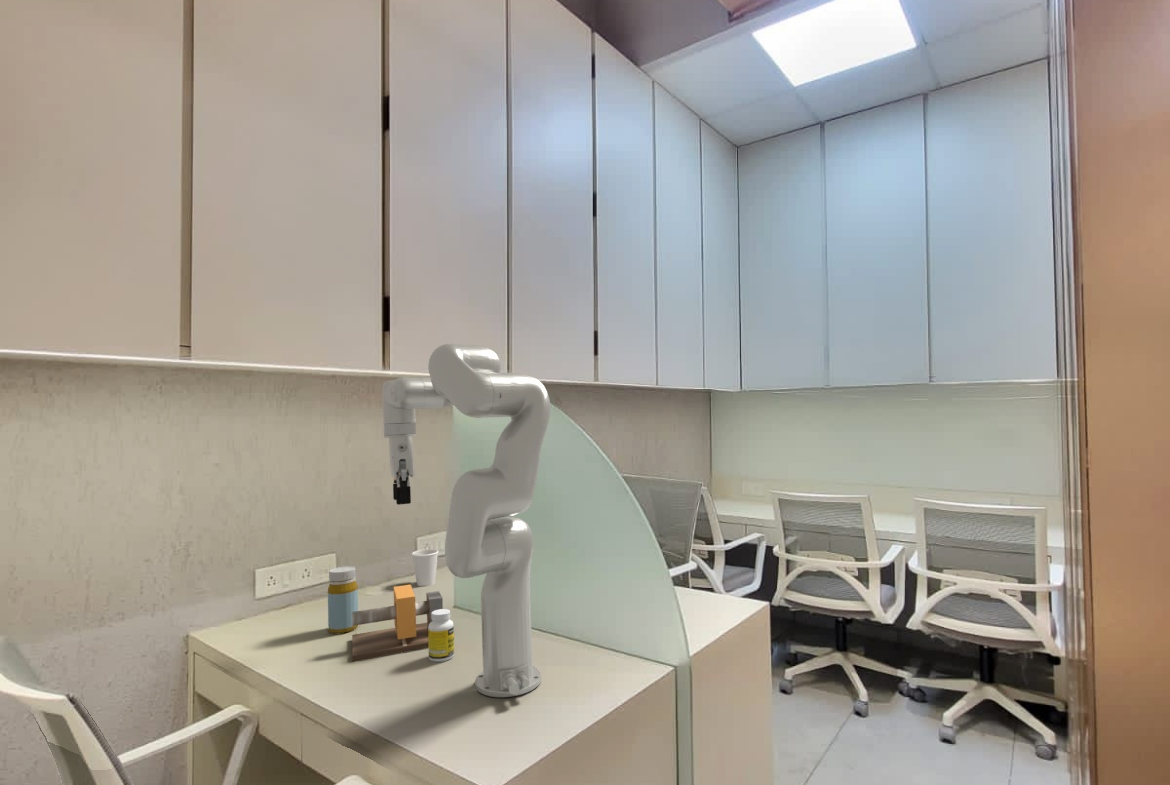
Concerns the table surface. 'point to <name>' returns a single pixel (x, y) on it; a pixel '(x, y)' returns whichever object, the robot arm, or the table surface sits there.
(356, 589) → the bottle
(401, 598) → the collar
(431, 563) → the dixie cup
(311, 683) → the table surface
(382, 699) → the table surface
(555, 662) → the table surface
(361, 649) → the pipe stand
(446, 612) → the supplement bottle
